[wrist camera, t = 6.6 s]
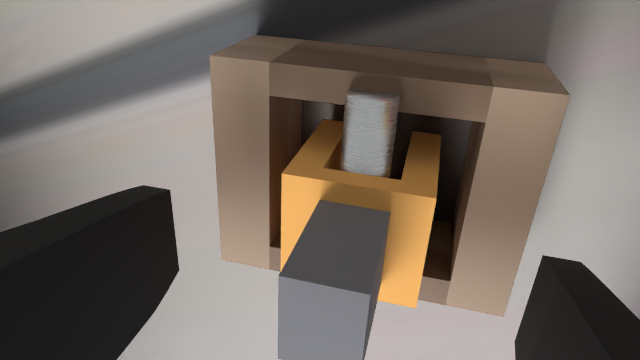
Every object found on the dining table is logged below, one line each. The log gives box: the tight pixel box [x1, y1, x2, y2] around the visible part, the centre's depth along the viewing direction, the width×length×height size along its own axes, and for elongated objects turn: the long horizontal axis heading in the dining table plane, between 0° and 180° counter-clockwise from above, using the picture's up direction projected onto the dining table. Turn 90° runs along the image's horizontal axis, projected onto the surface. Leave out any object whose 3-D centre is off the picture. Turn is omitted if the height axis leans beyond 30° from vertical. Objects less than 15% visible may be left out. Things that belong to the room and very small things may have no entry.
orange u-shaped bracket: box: [278, 119, 441, 360], centre depth 11 cm, size 3×3×7 cm
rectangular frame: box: [210, 35, 570, 317], centre depth 13 cm, size 6×8×4 cm
